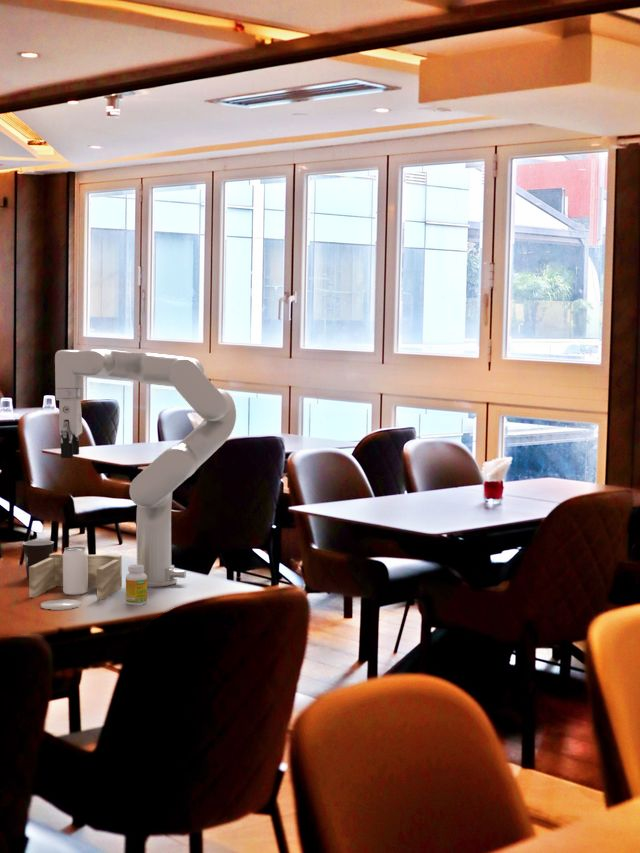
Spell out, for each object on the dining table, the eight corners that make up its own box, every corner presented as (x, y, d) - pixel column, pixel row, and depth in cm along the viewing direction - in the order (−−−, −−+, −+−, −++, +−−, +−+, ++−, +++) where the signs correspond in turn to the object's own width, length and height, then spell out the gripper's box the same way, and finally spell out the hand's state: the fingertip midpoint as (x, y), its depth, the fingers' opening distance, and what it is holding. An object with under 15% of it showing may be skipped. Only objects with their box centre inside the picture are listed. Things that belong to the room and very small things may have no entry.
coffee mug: (51, 580, 341) (51, 545, 340) (20, 580, 340) (20, 545, 340) (57, 572, 353) (57, 538, 352) (27, 573, 352) (27, 538, 351)
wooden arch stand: (121, 587, 331) (121, 555, 331) (102, 599, 315) (102, 566, 315) (51, 585, 334) (51, 553, 334) (29, 597, 318) (28, 563, 318)
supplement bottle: (137, 606, 307) (137, 568, 307) (121, 603, 310) (121, 566, 310) (151, 602, 312) (151, 565, 311) (135, 600, 315) (135, 563, 314)
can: (85, 595, 321) (84, 550, 320) (60, 595, 321) (60, 550, 320) (90, 590, 327) (89, 546, 326) (66, 590, 327) (65, 546, 327)
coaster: (86, 602, 312) (86, 599, 312) (73, 610, 302) (72, 608, 302) (49, 600, 314) (49, 598, 314) (34, 609, 304) (34, 606, 304)
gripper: (77, 396, 327) (78, 459, 328) (88, 393, 344) (88, 453, 345) (49, 396, 326) (50, 459, 328) (61, 393, 344) (62, 453, 345)
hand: (70, 456), depth 336 cm, fingers open, 9 cm apart
